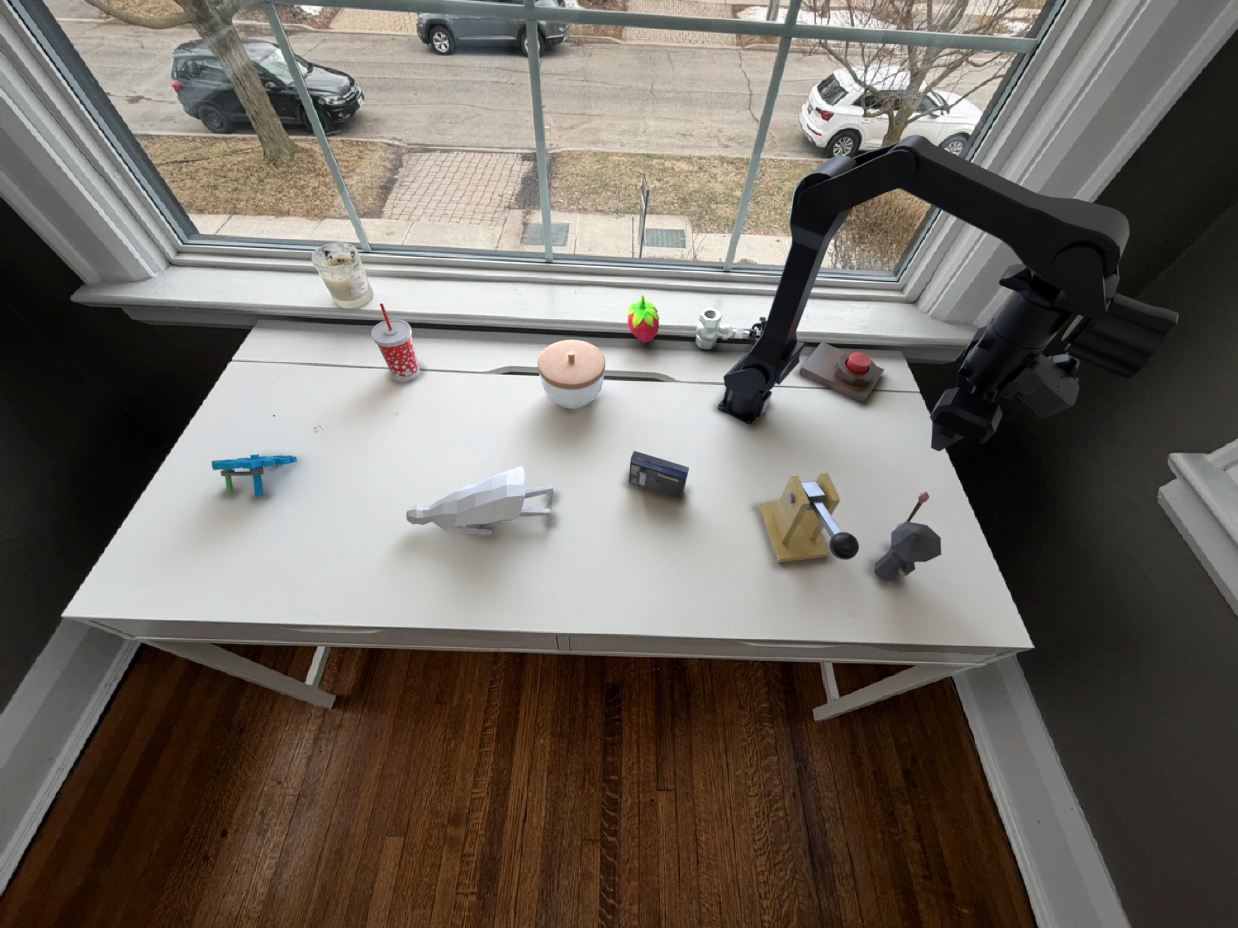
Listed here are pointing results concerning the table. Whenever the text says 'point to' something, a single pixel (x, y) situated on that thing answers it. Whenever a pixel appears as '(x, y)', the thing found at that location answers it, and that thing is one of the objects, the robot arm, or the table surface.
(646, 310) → the strawberry
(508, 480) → the superhero figure
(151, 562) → the table surface
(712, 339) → the valve
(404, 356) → the beverage cup
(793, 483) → the bracket
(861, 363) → the stop button
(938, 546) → the wizard figurine
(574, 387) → the trinket box
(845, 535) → the tap lever
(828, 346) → the control block
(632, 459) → the mini dv tape
